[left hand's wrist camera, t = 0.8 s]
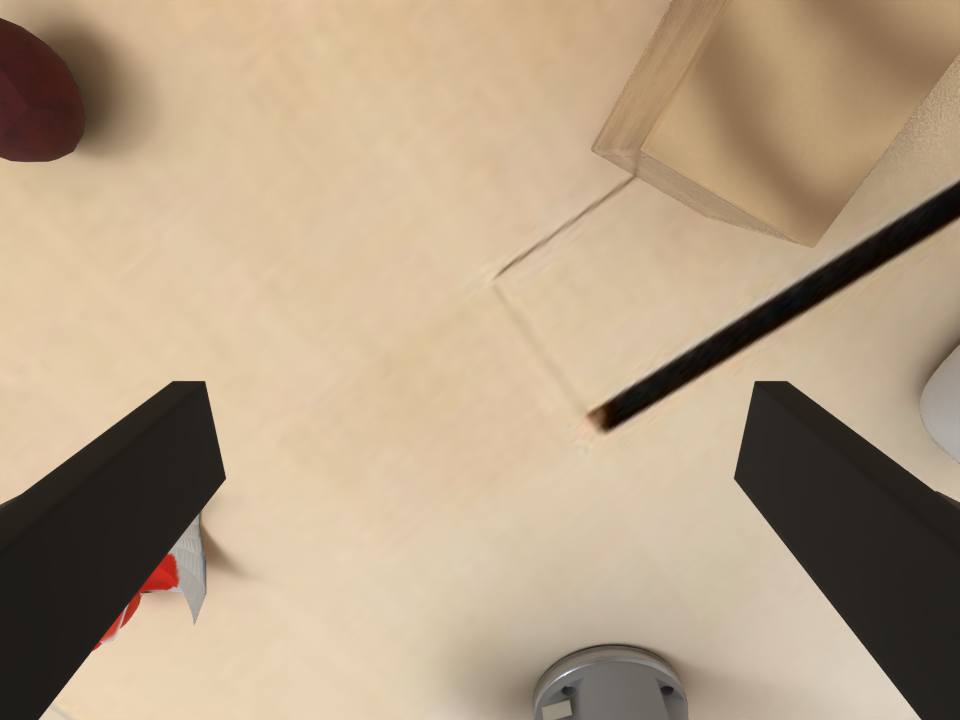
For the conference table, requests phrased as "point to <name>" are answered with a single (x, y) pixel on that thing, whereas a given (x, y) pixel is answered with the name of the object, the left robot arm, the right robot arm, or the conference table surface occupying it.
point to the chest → (648, 97)
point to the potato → (36, 99)
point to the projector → (944, 405)
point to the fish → (173, 577)
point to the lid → (801, 101)
